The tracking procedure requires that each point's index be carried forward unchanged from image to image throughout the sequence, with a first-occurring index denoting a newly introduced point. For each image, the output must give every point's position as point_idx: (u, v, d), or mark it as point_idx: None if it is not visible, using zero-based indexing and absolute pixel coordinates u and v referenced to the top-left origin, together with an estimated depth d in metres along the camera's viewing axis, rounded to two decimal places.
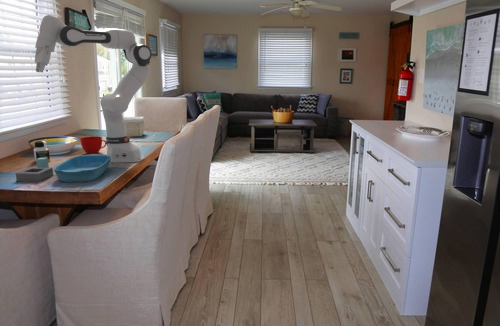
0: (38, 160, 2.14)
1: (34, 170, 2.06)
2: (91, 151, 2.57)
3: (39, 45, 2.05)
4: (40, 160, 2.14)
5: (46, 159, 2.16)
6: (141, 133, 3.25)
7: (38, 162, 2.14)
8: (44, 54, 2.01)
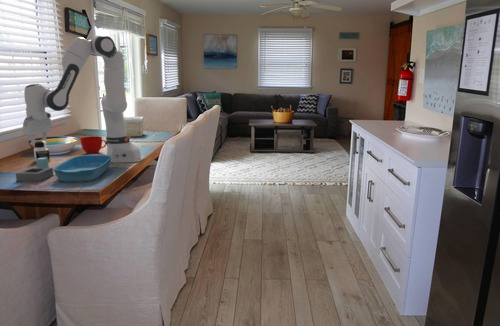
0: (38, 160, 2.14)
1: (34, 170, 2.06)
2: (91, 151, 2.57)
3: None
4: (40, 160, 2.14)
5: (46, 159, 2.16)
6: (141, 133, 3.25)
7: (38, 162, 2.14)
8: (24, 127, 2.02)
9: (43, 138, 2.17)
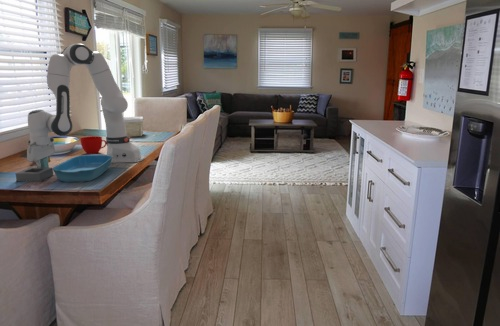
0: None
1: (34, 170, 2.06)
2: (91, 151, 2.57)
3: None
4: None
5: (46, 159, 2.16)
6: (141, 133, 3.26)
7: None
8: (27, 154, 2.05)
9: None
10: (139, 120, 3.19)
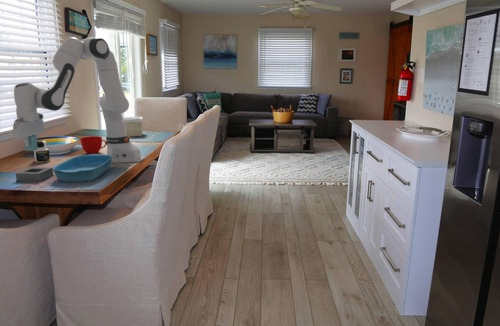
0: None
1: (34, 170, 2.06)
2: (91, 151, 2.57)
3: None
4: (28, 138, 1.97)
5: (34, 137, 1.99)
6: None
7: None
8: (14, 130, 1.88)
9: None
10: (139, 120, 3.20)
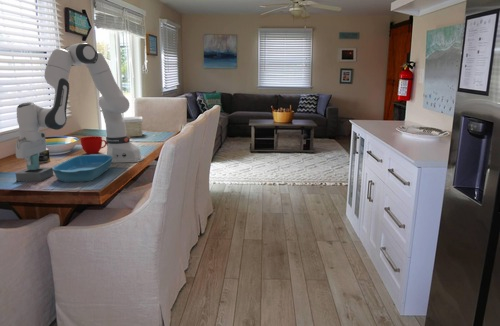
0: None
1: (34, 170, 2.06)
2: (91, 151, 2.57)
3: (19, 139, 1.96)
4: (30, 157, 1.99)
5: (36, 156, 2.01)
6: None
7: None
8: (16, 150, 1.90)
9: None
10: (140, 120, 3.20)
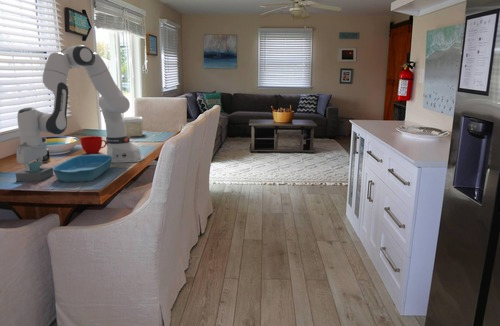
0: (29, 164, 2.00)
1: None
2: (91, 151, 2.57)
3: (20, 144, 1.96)
4: (31, 164, 2.00)
5: (38, 163, 2.02)
6: None
7: None
8: (17, 155, 1.91)
9: None
10: (140, 120, 3.20)
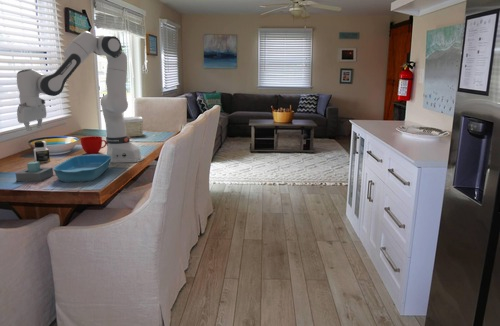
0: (29, 164, 2.00)
1: None
2: (91, 151, 2.57)
3: None
4: (31, 164, 2.00)
5: (38, 163, 2.02)
6: None
7: (29, 167, 2.00)
8: (18, 114, 1.96)
9: (38, 125, 2.11)
10: (140, 120, 3.21)
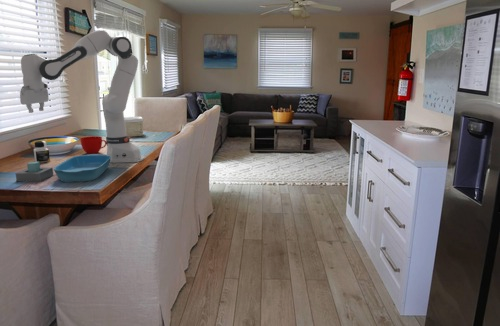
0: (29, 164, 2.00)
1: None
2: (91, 151, 2.57)
3: None
4: (31, 164, 2.00)
5: (38, 163, 2.02)
6: None
7: (29, 167, 2.00)
8: (21, 96, 2.06)
9: (40, 108, 2.21)
10: (141, 120, 3.21)
